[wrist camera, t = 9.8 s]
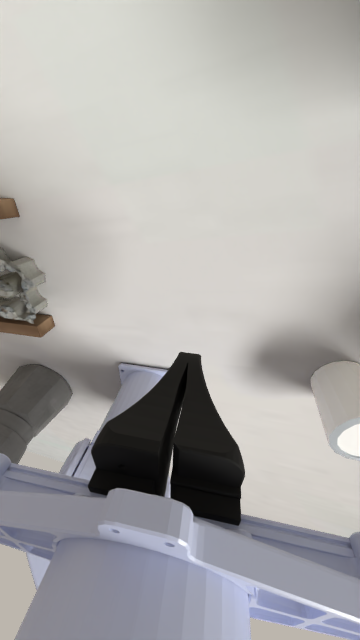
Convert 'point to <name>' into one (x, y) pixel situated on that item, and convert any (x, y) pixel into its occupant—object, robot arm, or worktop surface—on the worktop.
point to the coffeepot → (29, 406)
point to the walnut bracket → (43, 323)
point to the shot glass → (339, 405)
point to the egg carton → (20, 288)
